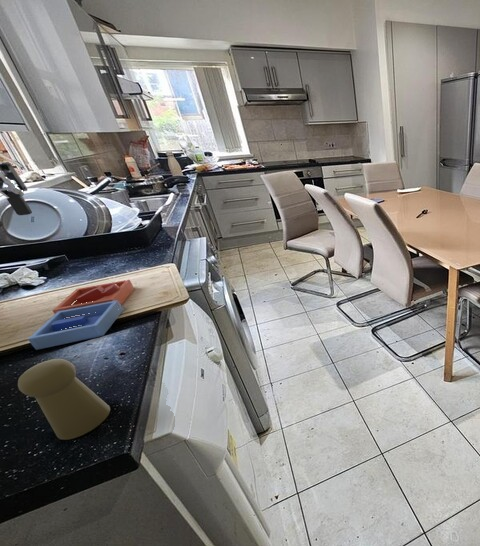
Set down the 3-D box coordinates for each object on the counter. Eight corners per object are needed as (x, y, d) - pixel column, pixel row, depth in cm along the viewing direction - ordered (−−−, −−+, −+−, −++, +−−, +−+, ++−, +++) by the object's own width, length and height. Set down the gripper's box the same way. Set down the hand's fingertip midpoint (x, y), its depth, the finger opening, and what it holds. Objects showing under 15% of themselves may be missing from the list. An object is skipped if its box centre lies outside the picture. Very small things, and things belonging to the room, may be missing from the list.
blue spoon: (54, 337, 65) (47, 327, 64) (63, 327, 68) (57, 318, 67) (102, 327, 67) (96, 318, 66) (109, 318, 70) (103, 309, 69)
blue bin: (36, 350, 62) (27, 339, 61) (65, 321, 70) (57, 311, 69) (104, 336, 65) (96, 325, 64) (124, 310, 73) (118, 300, 72)
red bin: (59, 321, 71) (52, 310, 69) (83, 298, 79) (76, 288, 78) (118, 309, 74) (112, 299, 72) (134, 289, 82) (129, 279, 81)
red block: (82, 308, 74) (73, 301, 73) (89, 301, 77) (80, 294, 76) (116, 292, 75) (107, 284, 74) (122, 285, 78) (113, 278, 77)
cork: (117, 399, 50) (79, 347, 45) (101, 431, 45) (56, 376, 40) (70, 412, 49) (25, 359, 43) (47, 447, 44) (-7, 392, 38)
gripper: (-42, 132, 61) (12, 213, 69) (-119, 139, 50) (-44, 235, 57) (8, 130, 64) (55, 208, 71) (-55, 135, 52) (10, 228, 59)
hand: (11, 220), depth 64 cm, fingers open, 8 cm apart
